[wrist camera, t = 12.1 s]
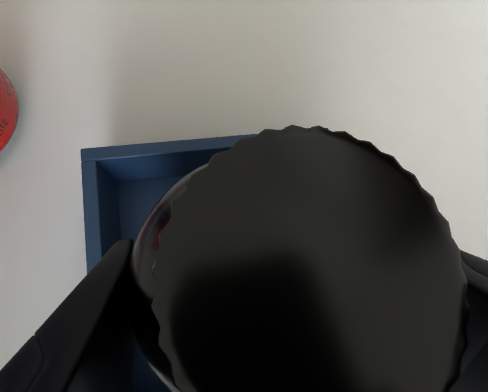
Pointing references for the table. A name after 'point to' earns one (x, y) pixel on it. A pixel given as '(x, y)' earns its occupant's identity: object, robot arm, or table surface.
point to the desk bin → (135, 202)
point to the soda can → (7, 110)
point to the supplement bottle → (299, 273)
